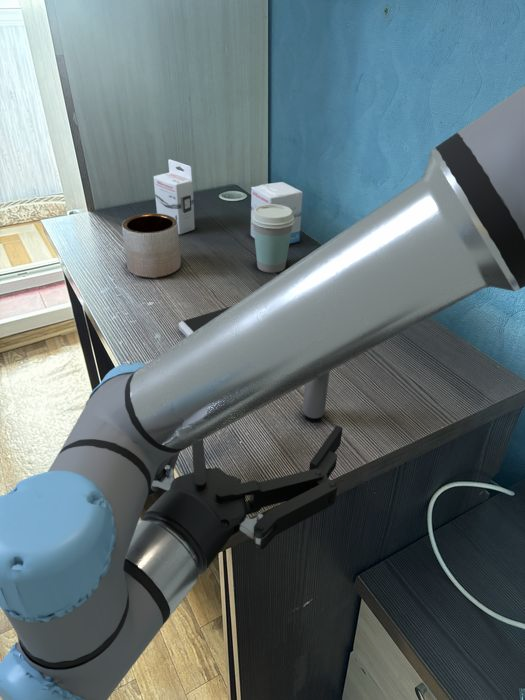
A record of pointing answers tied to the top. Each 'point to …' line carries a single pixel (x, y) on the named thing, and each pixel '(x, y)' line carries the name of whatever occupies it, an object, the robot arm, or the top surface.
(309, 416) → the grey metal rod
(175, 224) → the planter
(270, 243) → the coffee cup
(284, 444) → the top surface
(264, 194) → the ink box
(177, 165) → the ink box
